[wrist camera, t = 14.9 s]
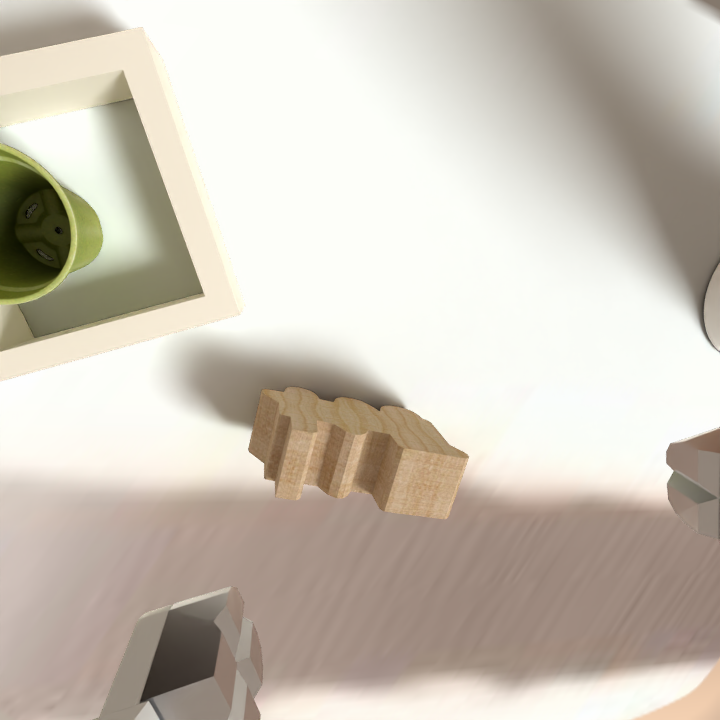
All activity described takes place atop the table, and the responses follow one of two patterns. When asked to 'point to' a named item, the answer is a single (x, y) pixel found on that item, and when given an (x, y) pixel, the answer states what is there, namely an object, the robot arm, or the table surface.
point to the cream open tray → (175, 162)
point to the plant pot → (40, 230)
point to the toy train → (355, 452)
